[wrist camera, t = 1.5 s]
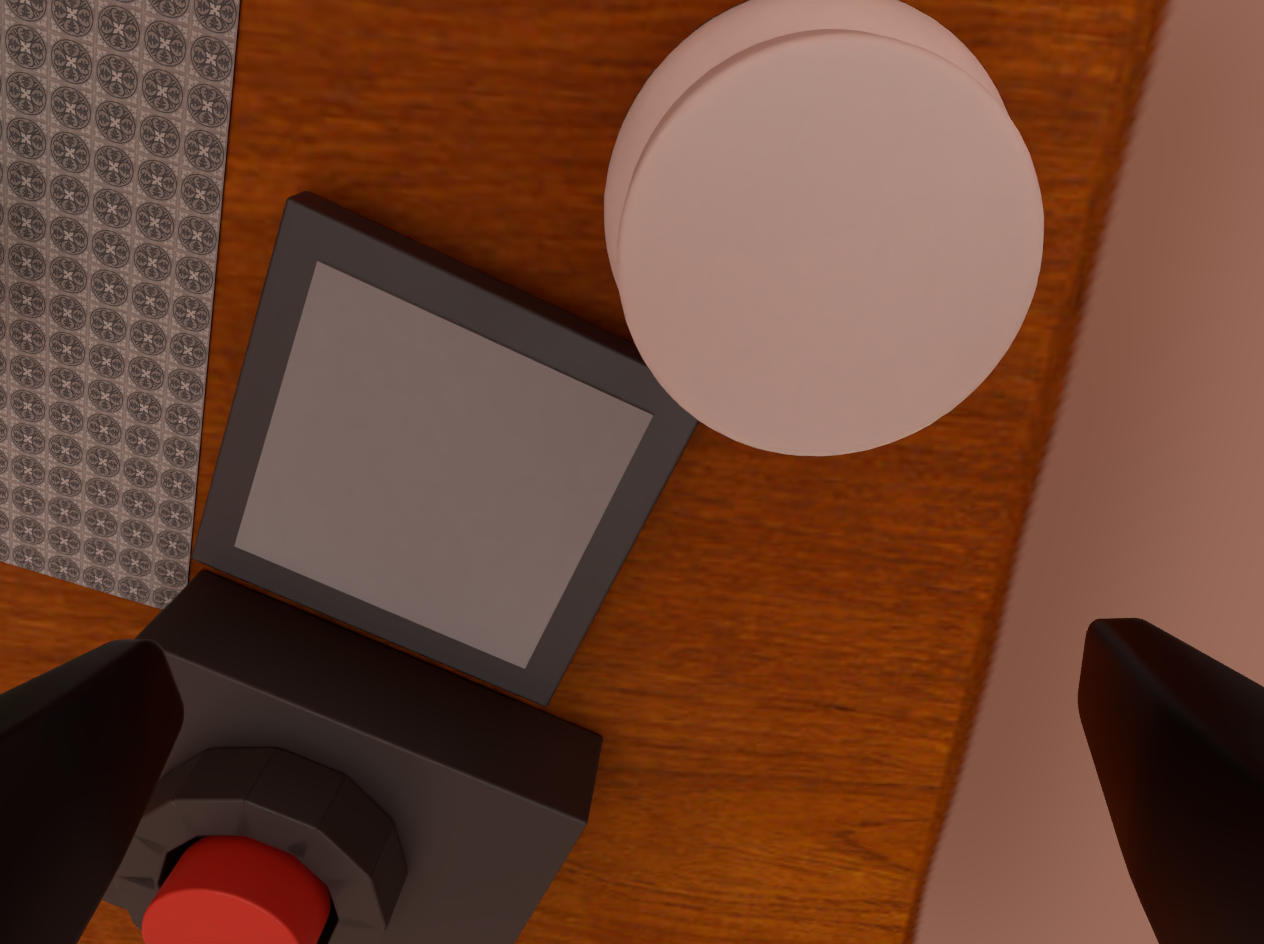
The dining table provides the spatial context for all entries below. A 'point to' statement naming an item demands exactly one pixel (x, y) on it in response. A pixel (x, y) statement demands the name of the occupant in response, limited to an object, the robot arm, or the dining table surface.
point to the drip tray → (434, 452)
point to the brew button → (237, 897)
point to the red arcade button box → (358, 774)
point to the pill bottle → (822, 224)
